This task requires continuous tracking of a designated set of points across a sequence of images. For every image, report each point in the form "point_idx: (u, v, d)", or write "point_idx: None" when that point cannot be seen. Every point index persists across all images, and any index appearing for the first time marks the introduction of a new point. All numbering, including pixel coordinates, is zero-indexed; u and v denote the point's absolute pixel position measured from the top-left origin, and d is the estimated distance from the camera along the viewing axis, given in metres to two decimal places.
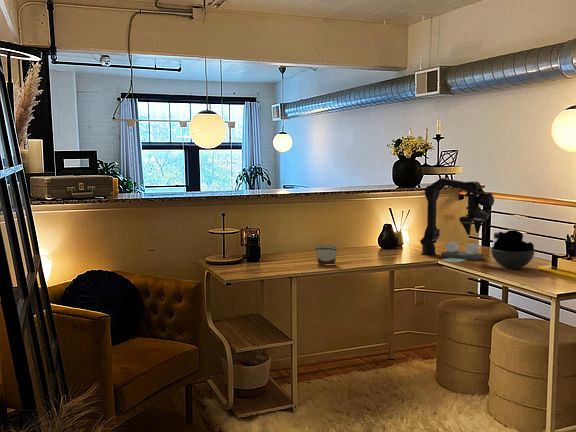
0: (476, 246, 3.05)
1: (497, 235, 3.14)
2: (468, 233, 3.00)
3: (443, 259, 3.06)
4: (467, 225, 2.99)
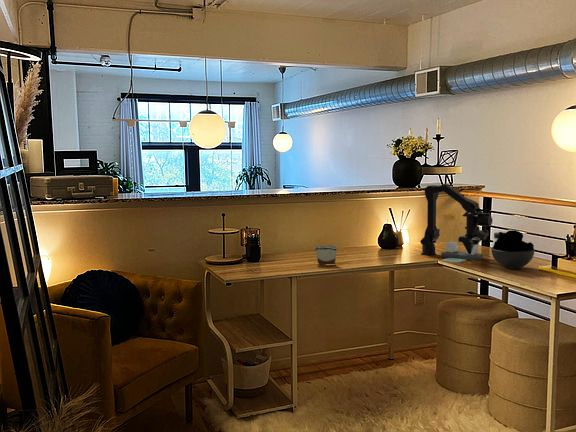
0: (476, 246, 3.05)
1: (497, 235, 3.14)
2: (469, 252, 3.05)
3: (443, 259, 3.06)
4: (468, 244, 3.04)
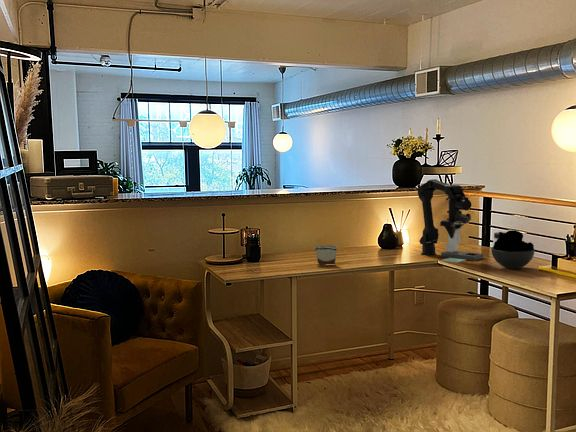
0: (458, 230, 3.01)
1: (497, 235, 3.14)
2: (451, 236, 3.01)
3: (443, 259, 3.06)
4: (450, 228, 3.00)
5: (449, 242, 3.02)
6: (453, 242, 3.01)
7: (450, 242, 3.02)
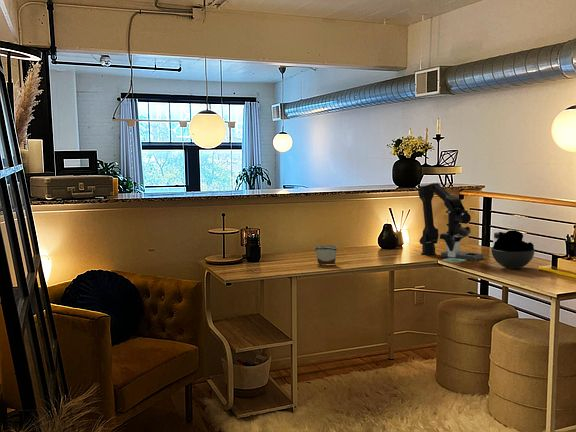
0: (458, 243, 3.02)
1: (497, 235, 3.14)
2: (451, 249, 3.01)
3: (443, 259, 3.06)
4: (449, 241, 3.00)
5: (449, 255, 3.03)
6: (452, 255, 3.02)
7: (450, 255, 3.03)
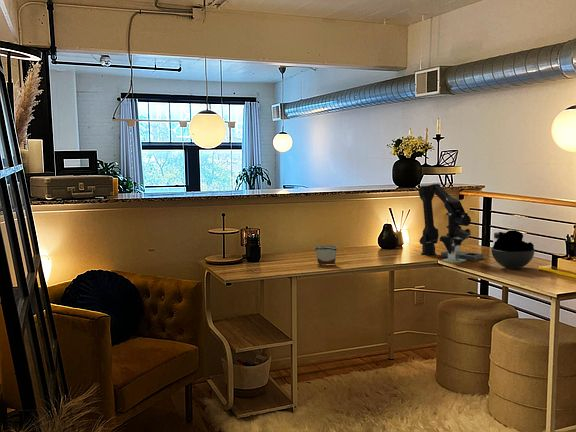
0: (458, 247, 3.02)
1: (497, 235, 3.14)
2: (449, 252, 3.00)
3: (443, 259, 3.06)
4: (448, 244, 3.00)
5: (449, 258, 3.03)
6: (452, 259, 3.02)
7: (450, 258, 3.03)
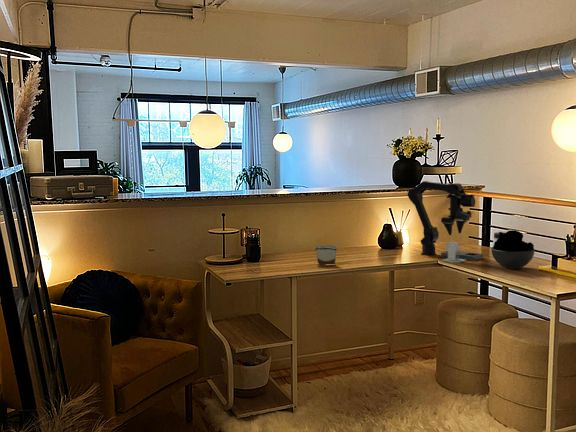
0: (458, 247, 3.02)
1: (497, 235, 3.14)
2: (449, 233, 3.09)
3: (443, 259, 3.06)
4: (448, 225, 3.08)
5: (449, 258, 3.03)
6: (452, 259, 3.02)
7: (450, 258, 3.03)
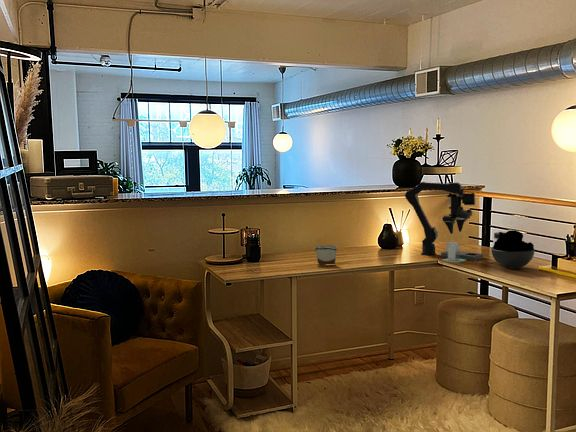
0: (458, 247, 3.02)
1: (497, 235, 3.14)
2: (451, 232, 3.13)
3: (443, 259, 3.06)
4: (450, 224, 3.13)
5: (449, 258, 3.03)
6: (452, 259, 3.02)
7: (450, 258, 3.03)
